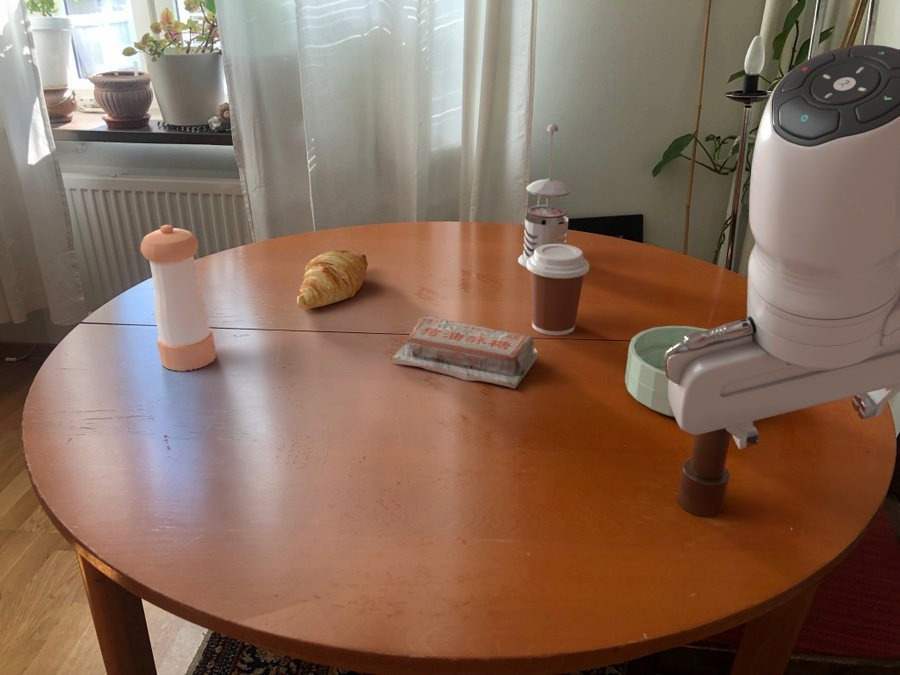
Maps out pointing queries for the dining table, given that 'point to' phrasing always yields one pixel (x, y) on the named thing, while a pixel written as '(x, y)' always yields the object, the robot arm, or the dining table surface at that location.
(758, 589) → the dining table surface
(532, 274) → the coffee cup
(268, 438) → the dining table surface
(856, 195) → the robot arm
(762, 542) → the dining table surface
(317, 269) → the croissant
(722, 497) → the brown tall cylinder
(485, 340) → the packaged product
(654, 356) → the bowl
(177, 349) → the pepper shaker
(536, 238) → the french press
